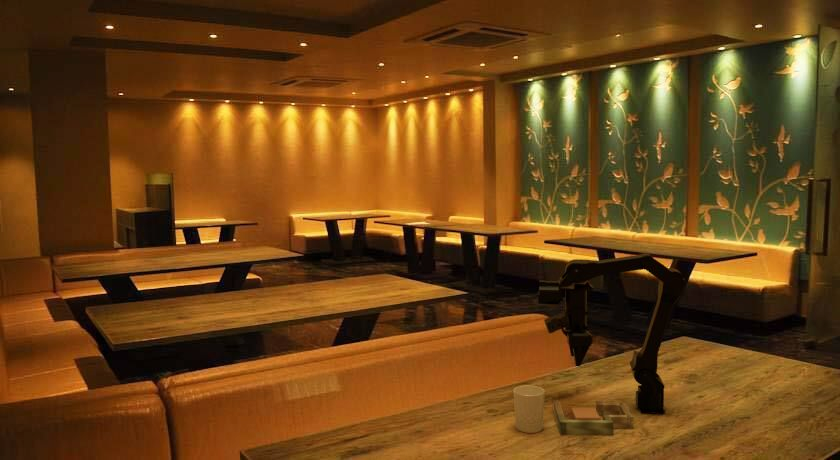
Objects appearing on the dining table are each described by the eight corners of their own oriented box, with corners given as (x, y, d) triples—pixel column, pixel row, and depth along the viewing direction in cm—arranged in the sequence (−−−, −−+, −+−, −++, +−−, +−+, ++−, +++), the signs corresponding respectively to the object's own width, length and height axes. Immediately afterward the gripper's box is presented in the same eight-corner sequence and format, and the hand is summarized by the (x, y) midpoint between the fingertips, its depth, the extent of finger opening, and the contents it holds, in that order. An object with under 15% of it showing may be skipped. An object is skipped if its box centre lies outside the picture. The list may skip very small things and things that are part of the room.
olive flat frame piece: (623, 411, 181) (623, 400, 181) (636, 435, 165) (637, 422, 165) (553, 411, 183) (553, 399, 182) (560, 434, 167) (560, 421, 167)
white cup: (544, 435, 167) (544, 396, 166) (512, 433, 168) (512, 394, 167) (544, 423, 174) (544, 386, 173) (514, 421, 176) (514, 384, 175)
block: (594, 422, 175) (594, 407, 174) (599, 433, 168) (599, 417, 167) (571, 422, 175) (571, 407, 175) (575, 432, 168) (575, 417, 168)
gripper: (542, 298, 193) (542, 351, 195) (549, 313, 175) (549, 371, 176) (581, 298, 192) (581, 351, 194) (593, 313, 174) (592, 371, 175)
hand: (575, 361), depth 185 cm, fingers open, 9 cm apart
